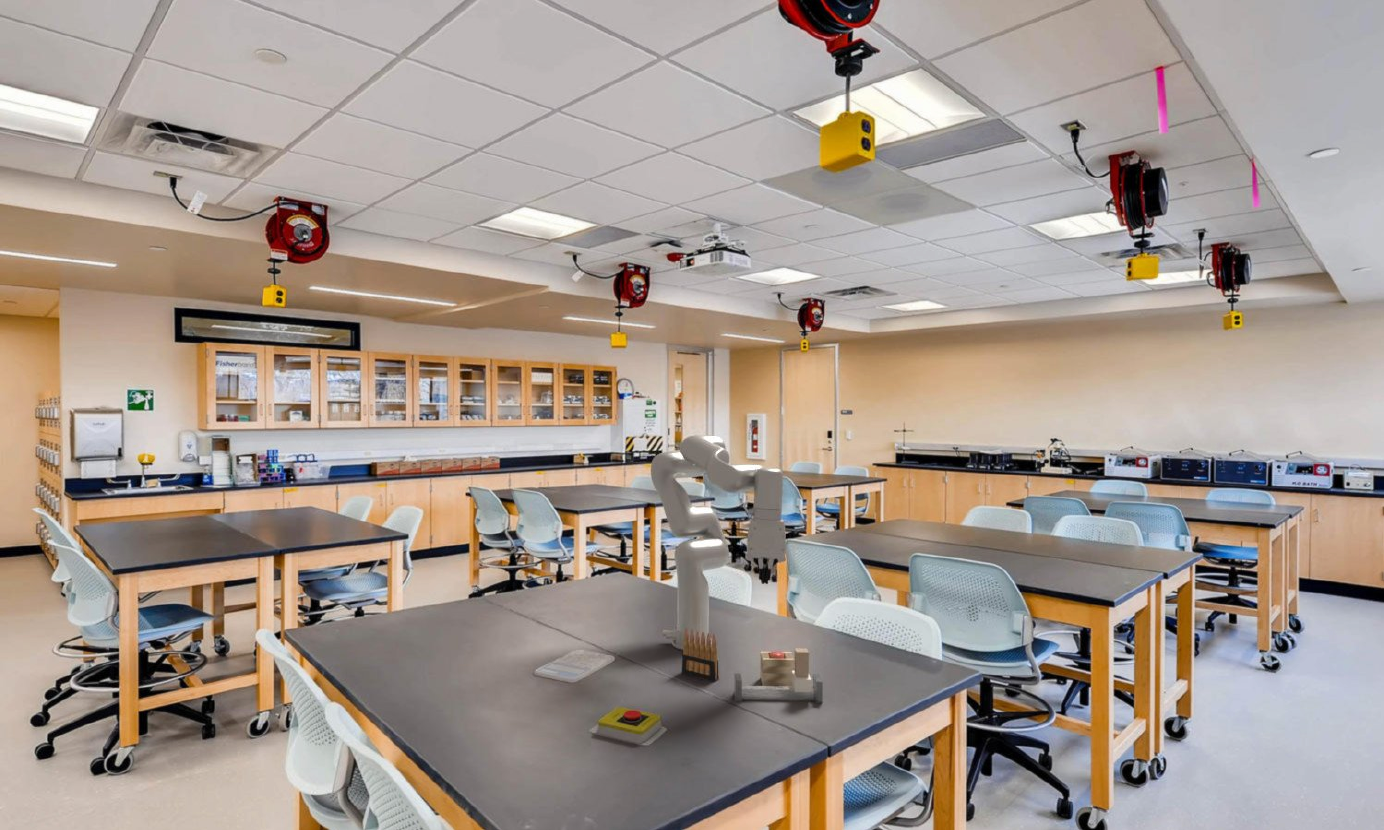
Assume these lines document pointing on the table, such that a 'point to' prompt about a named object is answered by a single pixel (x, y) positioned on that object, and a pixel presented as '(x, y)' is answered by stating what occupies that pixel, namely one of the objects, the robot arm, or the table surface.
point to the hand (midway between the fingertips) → (764, 582)
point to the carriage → (801, 671)
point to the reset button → (777, 655)
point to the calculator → (574, 666)
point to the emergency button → (630, 726)
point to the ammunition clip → (700, 656)
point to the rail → (777, 691)
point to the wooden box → (776, 670)
